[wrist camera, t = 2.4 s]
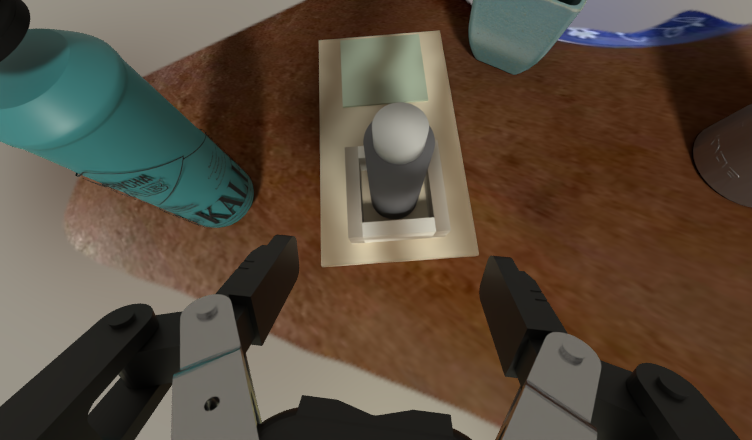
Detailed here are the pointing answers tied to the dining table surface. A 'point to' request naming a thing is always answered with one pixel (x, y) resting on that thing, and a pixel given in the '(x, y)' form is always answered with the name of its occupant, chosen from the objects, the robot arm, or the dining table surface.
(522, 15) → the flower pot
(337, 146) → the cream tray
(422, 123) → the grey capped cylinder
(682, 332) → the dining table surface
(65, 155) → the beverage bottle
